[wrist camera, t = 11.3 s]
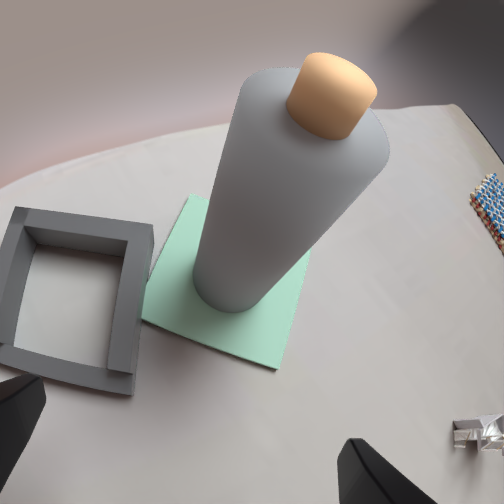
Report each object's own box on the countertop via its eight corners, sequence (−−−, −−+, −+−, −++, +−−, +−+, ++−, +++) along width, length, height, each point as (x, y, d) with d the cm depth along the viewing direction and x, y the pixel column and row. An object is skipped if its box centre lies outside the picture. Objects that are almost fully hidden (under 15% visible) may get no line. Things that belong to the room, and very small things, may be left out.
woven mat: (462, 200, 31) (473, 191, 29) (484, 176, 35) (493, 168, 34) (508, 271, 29) (520, 265, 27) (522, 235, 33) (532, 228, 31)
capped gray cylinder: (199, 317, 18) (282, 129, 5) (188, 245, 20) (238, 19, 7) (273, 307, 20) (444, 151, 7) (258, 239, 21) (372, 48, 8)
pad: (276, 369, 18) (278, 369, 18) (134, 315, 18) (133, 314, 17) (310, 244, 23) (312, 242, 22) (190, 196, 22) (191, 193, 21)
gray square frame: (133, 394, 16) (127, 396, 14) (-4, 360, 14) (-24, 355, 12) (154, 243, 20) (152, 224, 18) (28, 225, 18) (15, 206, 16)
